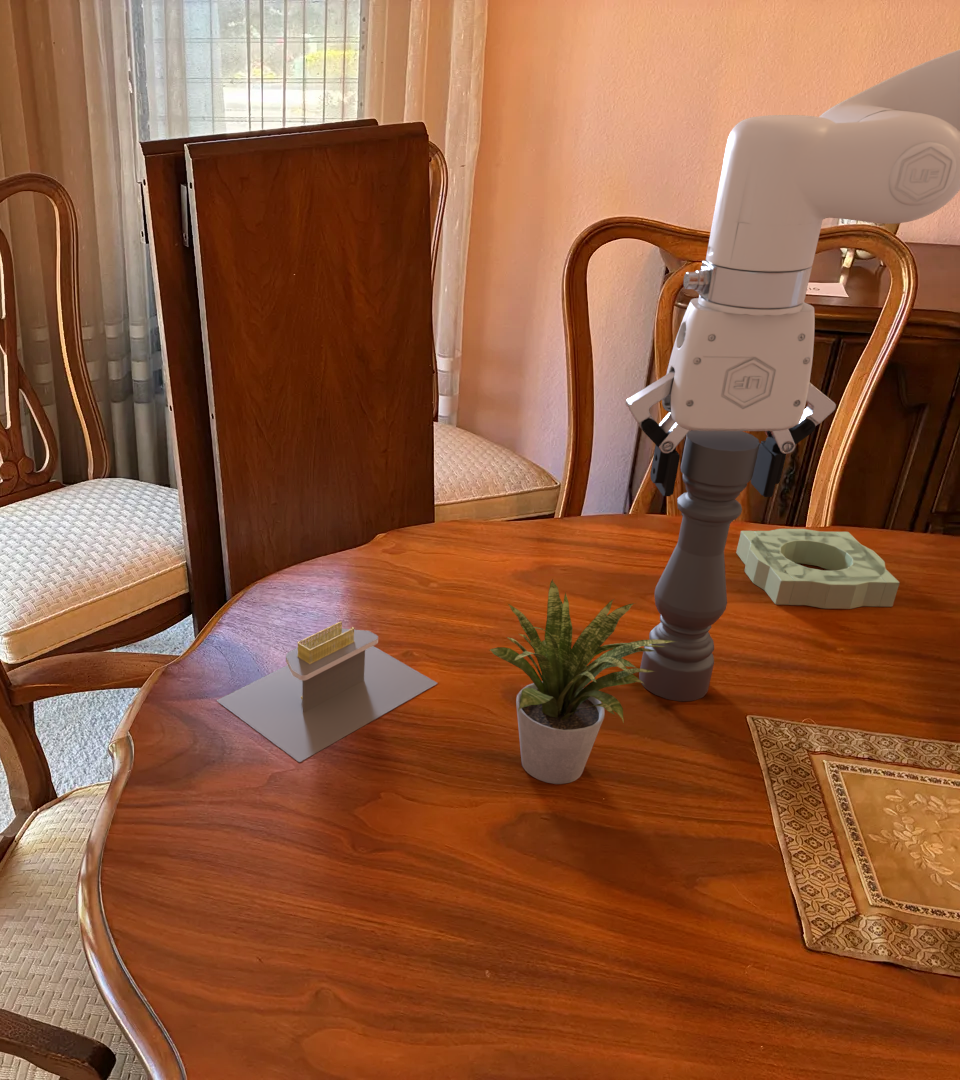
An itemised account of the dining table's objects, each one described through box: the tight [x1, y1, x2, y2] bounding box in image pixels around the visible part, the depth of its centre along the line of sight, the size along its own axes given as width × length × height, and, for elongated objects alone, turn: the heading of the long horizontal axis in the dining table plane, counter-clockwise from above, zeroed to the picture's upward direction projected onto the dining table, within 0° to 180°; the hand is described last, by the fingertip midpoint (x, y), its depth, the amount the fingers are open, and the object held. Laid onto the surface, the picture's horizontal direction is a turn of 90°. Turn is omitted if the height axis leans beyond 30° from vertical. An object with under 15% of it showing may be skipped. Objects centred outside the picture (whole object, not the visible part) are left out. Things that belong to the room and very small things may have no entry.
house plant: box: [488, 578, 676, 785], centre depth 81 cm, size 14×14×16 cm
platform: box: [216, 621, 438, 763], centre depth 95 cm, size 12×18×7 cm, turn 129°
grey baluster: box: [638, 430, 761, 702], centre depth 90 cm, size 6×6×25 cm
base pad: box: [735, 528, 900, 610], centre depth 112 cm, size 13×13×3 cm
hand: (712, 489), depth 86 cm, fingers open, 7 cm apart
